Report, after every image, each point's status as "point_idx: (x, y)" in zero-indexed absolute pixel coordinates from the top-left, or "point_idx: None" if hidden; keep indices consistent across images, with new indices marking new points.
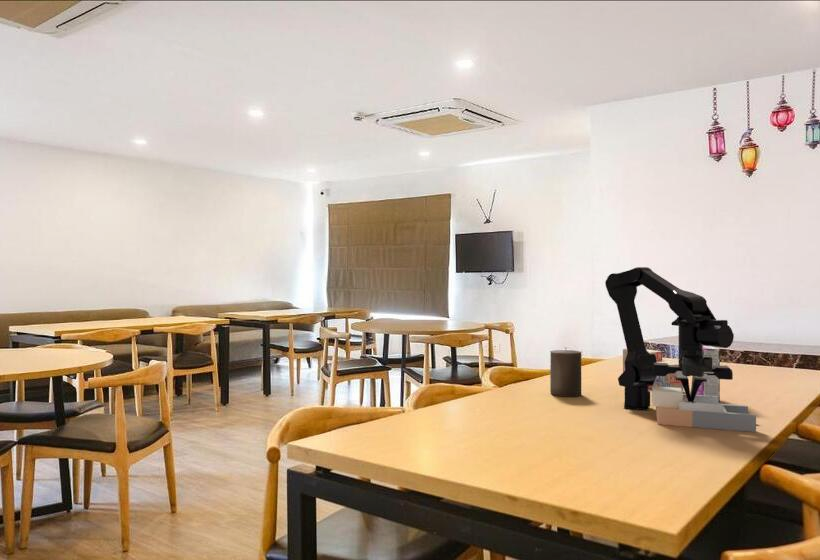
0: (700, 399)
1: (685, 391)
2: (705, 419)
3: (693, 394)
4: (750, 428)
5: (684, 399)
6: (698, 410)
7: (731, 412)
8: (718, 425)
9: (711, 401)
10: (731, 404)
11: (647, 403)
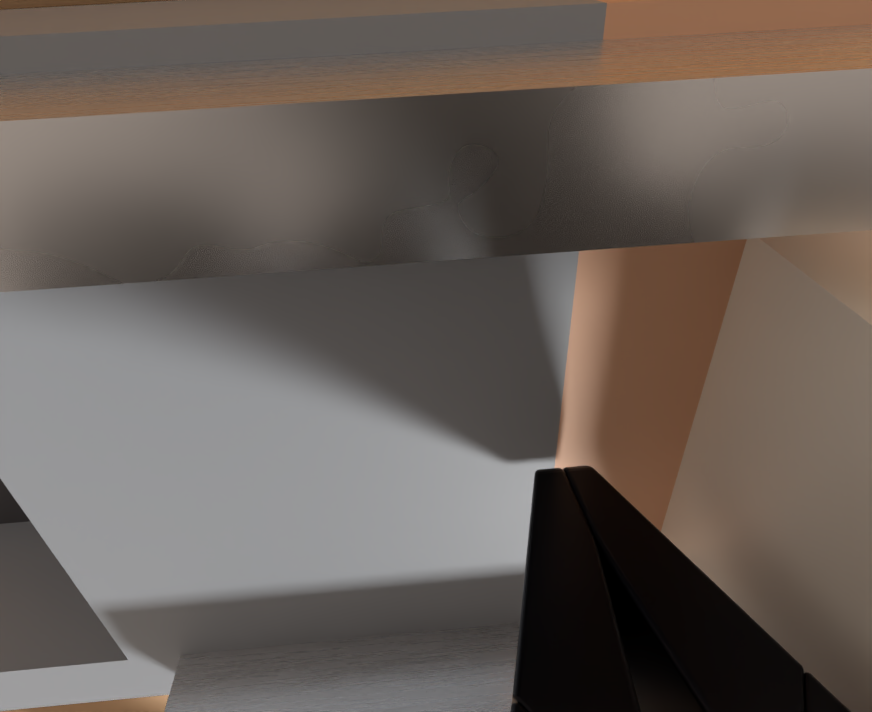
0: (394, 691)
1: (818, 684)
2: (306, 3)
3: (577, 638)
4: None
5: None
6: (458, 49)
7: (57, 586)
8: (96, 7)
9: (252, 686)
10: (35, 705)
11: None
